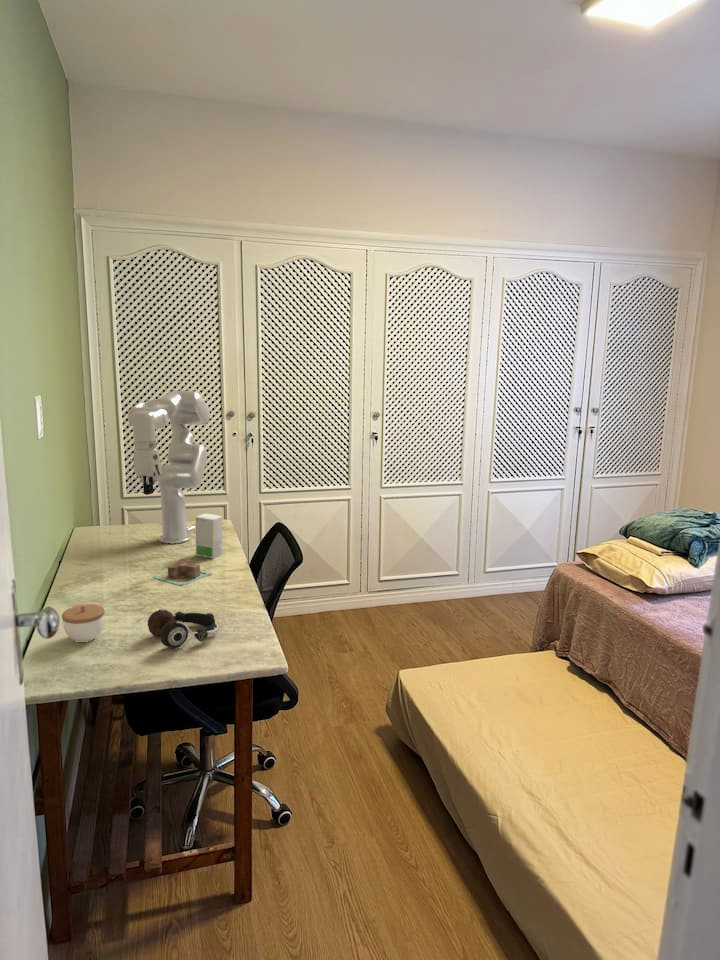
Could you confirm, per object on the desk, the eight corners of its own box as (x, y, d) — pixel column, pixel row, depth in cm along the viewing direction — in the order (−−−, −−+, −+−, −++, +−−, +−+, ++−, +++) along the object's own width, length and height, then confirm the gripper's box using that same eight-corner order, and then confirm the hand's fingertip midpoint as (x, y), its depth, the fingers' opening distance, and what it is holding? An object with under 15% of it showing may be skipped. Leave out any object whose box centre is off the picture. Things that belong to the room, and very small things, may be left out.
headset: (143, 605, 181) (208, 599, 194) (140, 632, 182) (205, 624, 195) (168, 626, 168) (236, 618, 181) (165, 655, 169) (233, 644, 182)
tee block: (168, 577, 225) (167, 567, 224) (183, 569, 234) (182, 559, 233) (190, 581, 222) (190, 570, 222) (204, 572, 231) (204, 562, 230)
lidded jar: (114, 632, 183) (112, 600, 181) (90, 649, 172) (87, 616, 171) (80, 627, 185) (78, 596, 183) (55, 644, 175) (52, 611, 173)
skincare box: (195, 556, 249) (193, 516, 245) (205, 551, 255) (204, 512, 251) (213, 559, 246) (212, 519, 242) (223, 554, 252) (222, 515, 248)
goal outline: (183, 566, 237) (183, 566, 237) (211, 574, 229) (211, 573, 229) (153, 577, 225) (153, 577, 225) (181, 586, 218) (181, 585, 218)
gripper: (167, 445, 235) (170, 494, 239) (139, 441, 242) (142, 488, 247) (151, 449, 228) (155, 499, 233) (122, 444, 236) (126, 493, 240)
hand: (148, 493), depth 240 cm, fingers closed
